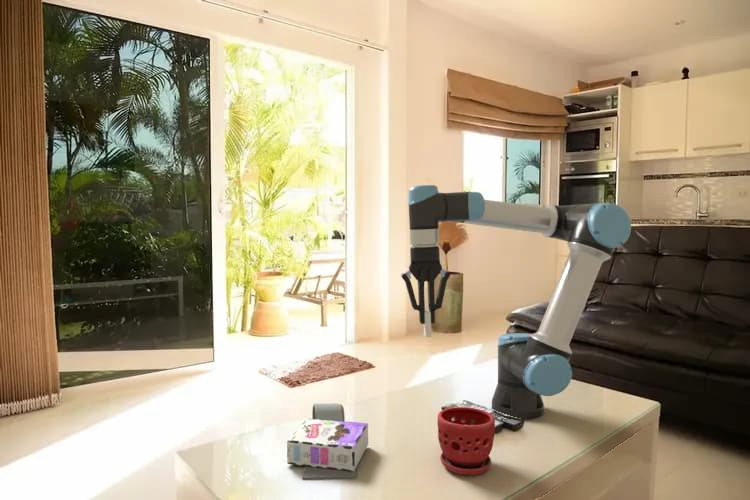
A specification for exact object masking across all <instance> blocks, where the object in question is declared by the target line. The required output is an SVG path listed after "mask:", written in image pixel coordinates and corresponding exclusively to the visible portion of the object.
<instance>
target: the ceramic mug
mask: <svg viewBox="0 0 750 500" xmlns="http://www.w3.org/2000/svg"><path fill="white" fill-rule="evenodd" d="M311 416H312V418H311V419H318V420H331V421H344V422H346V421H345V420H346V419H345V409H344V406H343V405H342V404H341V403H313V405H312V415H311Z"/></svg>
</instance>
